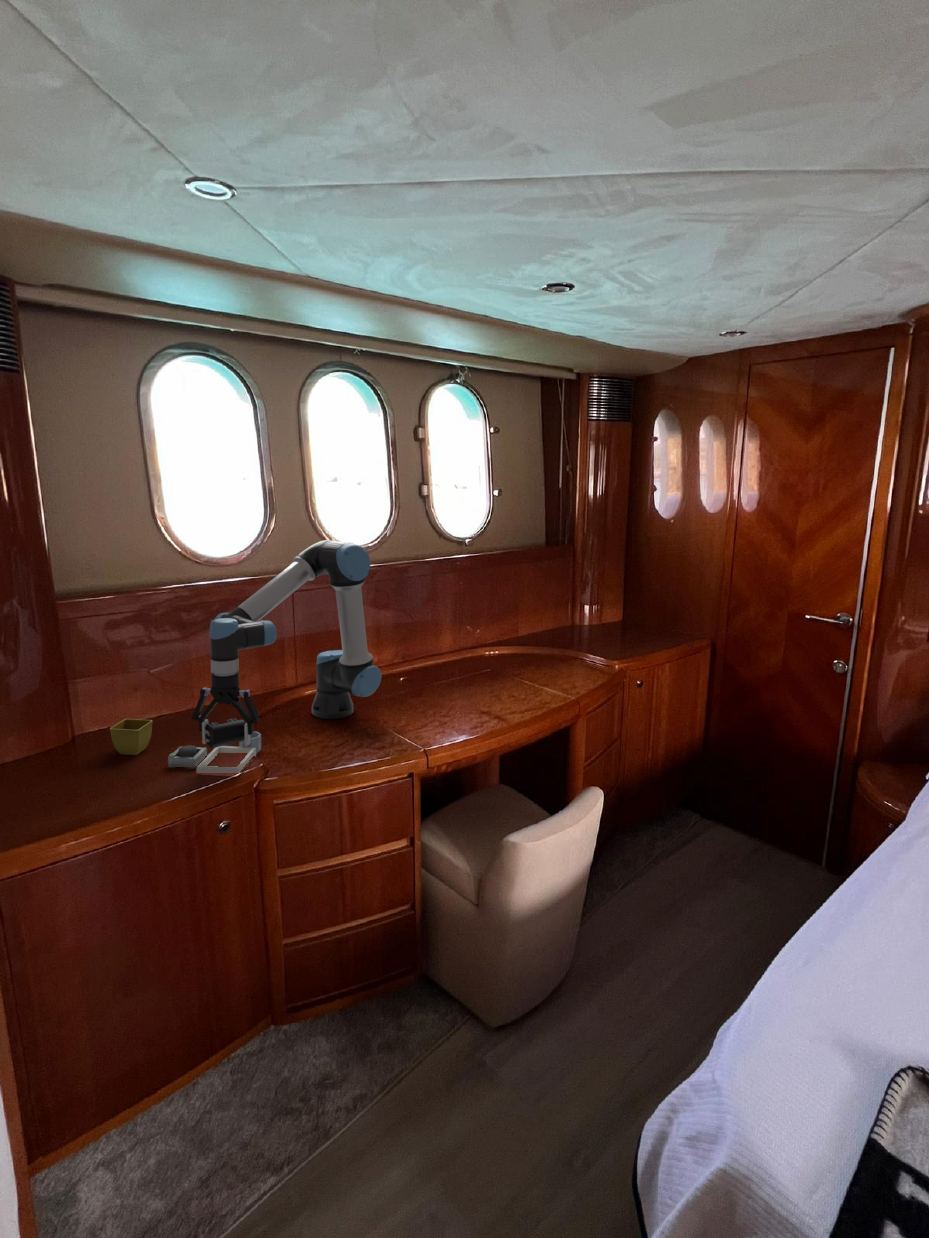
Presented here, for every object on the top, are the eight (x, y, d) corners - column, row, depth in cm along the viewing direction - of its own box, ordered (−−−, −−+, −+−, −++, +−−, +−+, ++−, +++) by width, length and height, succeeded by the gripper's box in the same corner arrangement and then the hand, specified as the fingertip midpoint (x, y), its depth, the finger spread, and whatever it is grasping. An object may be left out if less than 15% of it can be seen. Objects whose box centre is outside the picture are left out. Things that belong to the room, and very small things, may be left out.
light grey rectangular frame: (256, 755, 195) (256, 747, 195) (238, 777, 181) (238, 769, 180) (217, 753, 195) (217, 745, 195) (196, 775, 181) (196, 766, 180)
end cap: (214, 752, 181) (213, 729, 179) (204, 744, 186) (204, 722, 184) (247, 744, 187) (247, 722, 186) (237, 736, 192) (237, 715, 191)
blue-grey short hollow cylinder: (263, 746, 202) (262, 731, 201) (256, 754, 196) (256, 739, 195) (244, 745, 202) (243, 730, 201) (237, 753, 196) (237, 738, 195)
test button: (199, 754, 191) (199, 745, 190) (192, 761, 186) (192, 752, 185) (183, 753, 191) (182, 745, 190) (175, 760, 186) (175, 751, 185)
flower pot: (127, 745, 198) (125, 718, 196) (154, 746, 198) (153, 719, 196) (110, 757, 189) (108, 728, 187) (139, 758, 189) (137, 730, 187)
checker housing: (207, 756, 192) (206, 745, 192) (195, 768, 185) (195, 757, 184) (180, 755, 192) (180, 744, 192) (168, 767, 185) (167, 755, 184)
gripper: (270, 671, 186) (271, 740, 190) (189, 666, 186) (191, 735, 190) (262, 678, 178) (263, 750, 183) (177, 673, 178) (180, 745, 183)
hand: (226, 743), depth 186 cm, fingers closed on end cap, 12 cm apart
